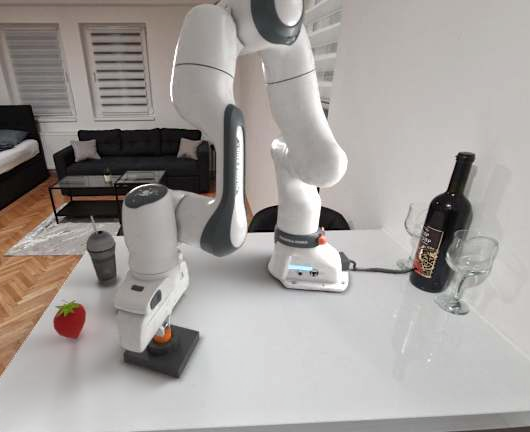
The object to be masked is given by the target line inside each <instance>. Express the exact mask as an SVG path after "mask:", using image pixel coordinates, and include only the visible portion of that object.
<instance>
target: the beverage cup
mask: <svg viewBox="0 0 530 432" xmlns="http://www.w3.org/2000/svg"><path fill="white" fill-rule="evenodd" d="M90 220H91V224H92V227H93V229H94V232H92V233H91V234H90V235H89V236H88V238H87V240H86V248H85V249H86V251H87V253H88V255H89V257H90V259H91V262H92V265H93V268H94V269H93V270H94V272H95V274H96V278H97V280H98V283H99V285H100V286H101V287H102V288H103V287H104V288H108V287H111V286H114V285H115V284H116V283H117V281H118V279H117V278H118V277H117V276H118V275H117V260H116V245H117V243H116V240H115V238H114V237H113V235H112V234H111V233H110V232H108V231H107V230H98V229H97V226H96V224H95V220H94V216H93V215H90Z"/></svg>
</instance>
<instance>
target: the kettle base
mask: <svg viewBox="0 0 530 432" xmlns="http://www.w3.org/2000/svg"><path fill="white" fill-rule="evenodd" d="M170 329H171V339H170V340H169V341H168V342H166V343H162V344H158V343H155V342H154V340H153V338H152V339H151V341H150V342H149V344H148V345H147V347H146V348H145V350H144V351H143V352H133V351H130V350H127V349H125V350H124V352H123V360H124V362H125V363H128V364H132V365H135V366H138V367H141V368H144V369H147V370H151V371H154V372H158V373H161V374H164V375H167V376H170V377H173V378H176V379H180V378H181V376H182V374H183V372H184V370H185V368H186V366H187V364H188V362H189V361H190V359H191V357H192V354H193V353H194V351H195V349H196V347H197V345H198V343H199V341H200V339H201V337H200V331H198V330H194V329H190V328H187V327H182V326H180V325H175V324H171V323H170Z"/></svg>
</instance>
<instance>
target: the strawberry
mask: <svg viewBox="0 0 530 432" xmlns="http://www.w3.org/2000/svg"><path fill="white" fill-rule="evenodd" d="M61 301H62V302H64V303H63V305H55V306H54V307H55V308H57V309H58V311H57V312H56V314H55V315H54V317H53V321H52V322H53V323H52V324H53V329H54V330H55V332H56V333H57V334H58V335H59V336H61V337H65V338H68V339H73V340H74V339H78V337H79V336H80V334H81V332H82V330H83V328H84V326H85V323H86V319H87V318H86V316H87V312H86V308H85V307H84V306H83V304H81V303H79V302H76V299H74V300H72V301H71V302H68V301H66V300H63V299H61ZM66 303H67V304H66Z"/></svg>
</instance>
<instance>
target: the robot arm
mask: <svg viewBox="0 0 530 432" xmlns="http://www.w3.org/2000/svg"><path fill="white" fill-rule="evenodd" d="M304 16H305V0H217V1H216V2H214V3H213V4H212V3H202V4H198V5H195V6H194V7H192V8H191V9H189V11H187V14H186V15H185V17H184V20H183V23H182V25H181V29H180V32H179V36H178V40H177V44H176V48H175V54H174V58H173V59H174V60H173V67H172V73H171V74H172V75H171V79H170V80H171V81H170V98H171V103H172V105H173V107H174V109H175V111H176V112H177V113H178V115H179V116H180V117H181V118H182V119H183V120H184V121H185V122H186V123H187V124H189V125H190V126H192V127H193V128H195V129H197V130H198V131H200V132H201V133H203V134H204V135H206V137H208V138H209V140H210V141H211V142H212V145H213V146H214V150H215V197H211V196H208V195H207V196H206V195H202V194H198V193H195V192H191V191H187V190H182V189H181V190H180V189H171V188H168V187H167V186H166V185H164V184H162V183H148V184H142V185H139V186H136V187H135V188H133V189H131V190H129V192H127V194H126V195H125V196H124V199H123V202H122V205H121V206H122V207H121V224H122V232H123V239H124V244H125V247H126V248H127V250H128V260H127V261H128V270H127V271H126V274H125V277H124V279H123V282H122V283H121V285H120V286H119V288H118V290H117V291H116V293H115V294H114V296H113V300H112V302H113V307H114V308H116V309H118V310H117V311H118V312H117V316H116V325H117V332H118V337H119V342H120V345H121V347H122V348H123V349H124V350H130V351H133V352H143V351H144V350H145V348H146V347H147V345H148V344H149V342H150V341H151V339H152V338H153V336H154V335H155V334H156V336H159V337H163V336H164V335H165V333H166V332H167V330H168V329H169V327H170V324H171V317H172V314H173V313H172V312H173V310H174V307H175V306H176V304H177V303H178V301H179V300H180V299H181V297H182V296H183V295H184V293H185V291H187V288H188V287H189V284H190V276H189V268H188V264H187V262H186V260H184V256H183V252H182V251H181V252H180V251H177V247H178V248H179V246H180V245H181V244H185V245H187V246H188V245H189V246H192V247H194V248H197V249H201V250H202V251H204V252H206V253H208V254H210V255H212V256H215V257H217V258H223V257H227V256H229V255H231V254H233V253H235V252H236V251H238V250H239V249H241V248H242V246H243V245H244V243H245V241H246V239H247V236H248V231H249V217H248V210H247V202H246V200H247V199H246V191H247V190H246V188H247V187H246V185H247V184H246V181H247V179H246V175H247V133H246V121H245V116H244V113H243V111H242V109H240V108H239V107H238V106H237V105H236V101H235V97H234V81H235V77H236V66H237V59H238V57H242V56H248V55H253V54H257V55H258V57H259V59H260V60H261V66H262V67H261V68H262V72H263V73H262V75H263V79H264V84H265V88H266V93H267V98H268V102H269V107H270V111H271V115H272V118H273V120H274V122H275V123H276V125H277V127H278V129H279V131H280V133H279V134H278V135H276V136H275V138H274V139H273V141H272V142H271V145H270V156H271V158H272V162H273V164H274V173H275V179H276V187H277V196H278V201H277V202H278V205H277V218H276V219H277V220H276V223H275V225H274V232H273V242H274V246H273V251H272V254H271V257H270V260H269V262H268V265H267V269H268V272H269V273H270V275H272V277H274V278H276V279H277V280H279V281H280V282H281V283H282V285H283V286H284V287H285V288H287V289H296V290H308V291H310V290H311V291H322V292H336V293H337V292H338V293H341V292H344V291H345V290H346V289H347V287H348V284H349V270H350V267H351V264H353V265H352V269H353V270H354V271H356V272H375V271H376V272H387V273H395V274H397V273H399V274H400V273H401V274H402V273H407V272H410V271H412V270H411V267H412V266H411V267H408V268H404V269H392V268H384V267H383V268H382V267H369V268H358V267H357V262H356V261H355V260H353V259H350V258H348V256H347V255H346V253H344V251H338V250H337V249H336V248H335V247H334V246H332V245H331V244H329V243H328V242H327V237H326V232H325V228H324V227H323V226H322V227H320V226H319V224H320V223H319V222H320V216H321V210H322V209H321V207H322V200H321V197H320V195H319V192H318V189H317V188H321V189H325V188H326V189H327V188H330V187H332V186H333V187H334V185H336V184H337V183H339V182H340V181H341V180H342V178H343V177H344V176H345V174H346V171H347V167H348V158H347V155H346V153H345V151H344V150H343V149H342V147H341V146H340V145H339V144H338V142H337V141H336V139H335V137H334V135H333V132H332V129H331V127H330V125H329V123H328V120H327V117H326V114H325V112H324V108H323V105H322V102H321V96H320V95H321V94H320V90H319V83H318V77H317V70H316V64H315V58H314V53H313V48H312V44H311V41H310V38H309V35H308V32H307V30H306V26H305V24H304V23H303V22H304Z"/></svg>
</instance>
